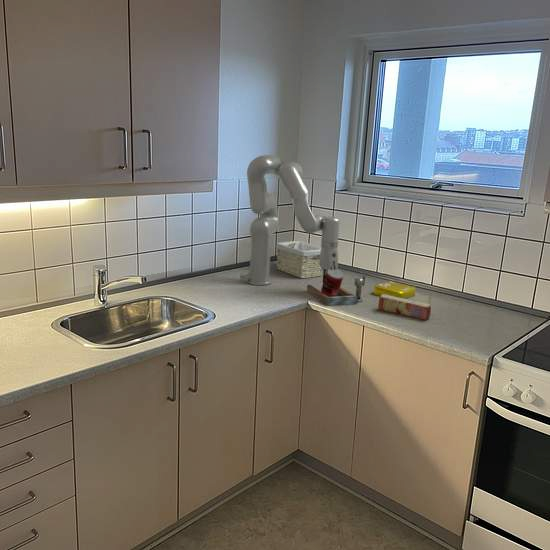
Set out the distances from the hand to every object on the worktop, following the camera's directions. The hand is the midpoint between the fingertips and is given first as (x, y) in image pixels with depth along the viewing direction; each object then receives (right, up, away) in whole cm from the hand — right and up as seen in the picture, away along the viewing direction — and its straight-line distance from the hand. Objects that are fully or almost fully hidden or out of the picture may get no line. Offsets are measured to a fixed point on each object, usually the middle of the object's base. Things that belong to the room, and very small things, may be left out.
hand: (326, 283), depth 254 cm
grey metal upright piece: (+13, -8, -8) cm, 17 cm away
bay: (+1, -6, -4) cm, 8 cm away
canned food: (+1, -4, -3) cm, 5 cm away
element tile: (+32, -6, +5) cm, 33 cm away
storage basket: (-11, +5, +35) cm, 37 cm away
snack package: (+30, -13, -22) cm, 40 cm away
